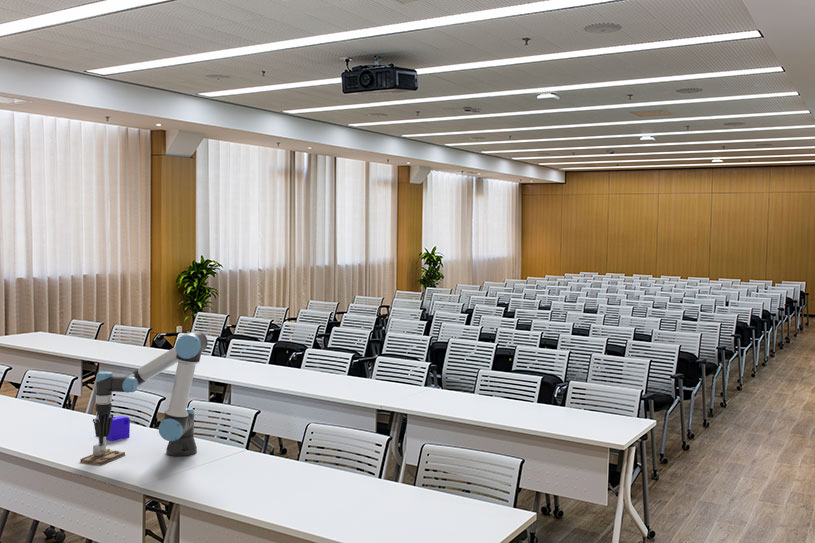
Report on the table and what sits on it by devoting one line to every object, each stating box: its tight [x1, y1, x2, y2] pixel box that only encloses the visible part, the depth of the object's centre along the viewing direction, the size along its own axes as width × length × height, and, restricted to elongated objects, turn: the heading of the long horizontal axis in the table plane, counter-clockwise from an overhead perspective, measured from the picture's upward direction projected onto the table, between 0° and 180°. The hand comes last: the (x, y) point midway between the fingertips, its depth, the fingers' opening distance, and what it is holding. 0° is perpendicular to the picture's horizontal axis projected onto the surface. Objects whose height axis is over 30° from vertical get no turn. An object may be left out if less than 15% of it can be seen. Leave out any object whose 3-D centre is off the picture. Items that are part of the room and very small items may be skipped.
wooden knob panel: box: [79, 449, 126, 466], centre depth 358 cm, size 12×18×3 cm, turn 165°
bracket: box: [106, 415, 131, 442], centre depth 399 cm, size 18×11×12 cm, turn 57°
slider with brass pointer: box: [92, 443, 113, 456], centre depth 357 cm, size 9×4×5 cm, turn 75°
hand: (102, 449), depth 361 cm, fingers closed
